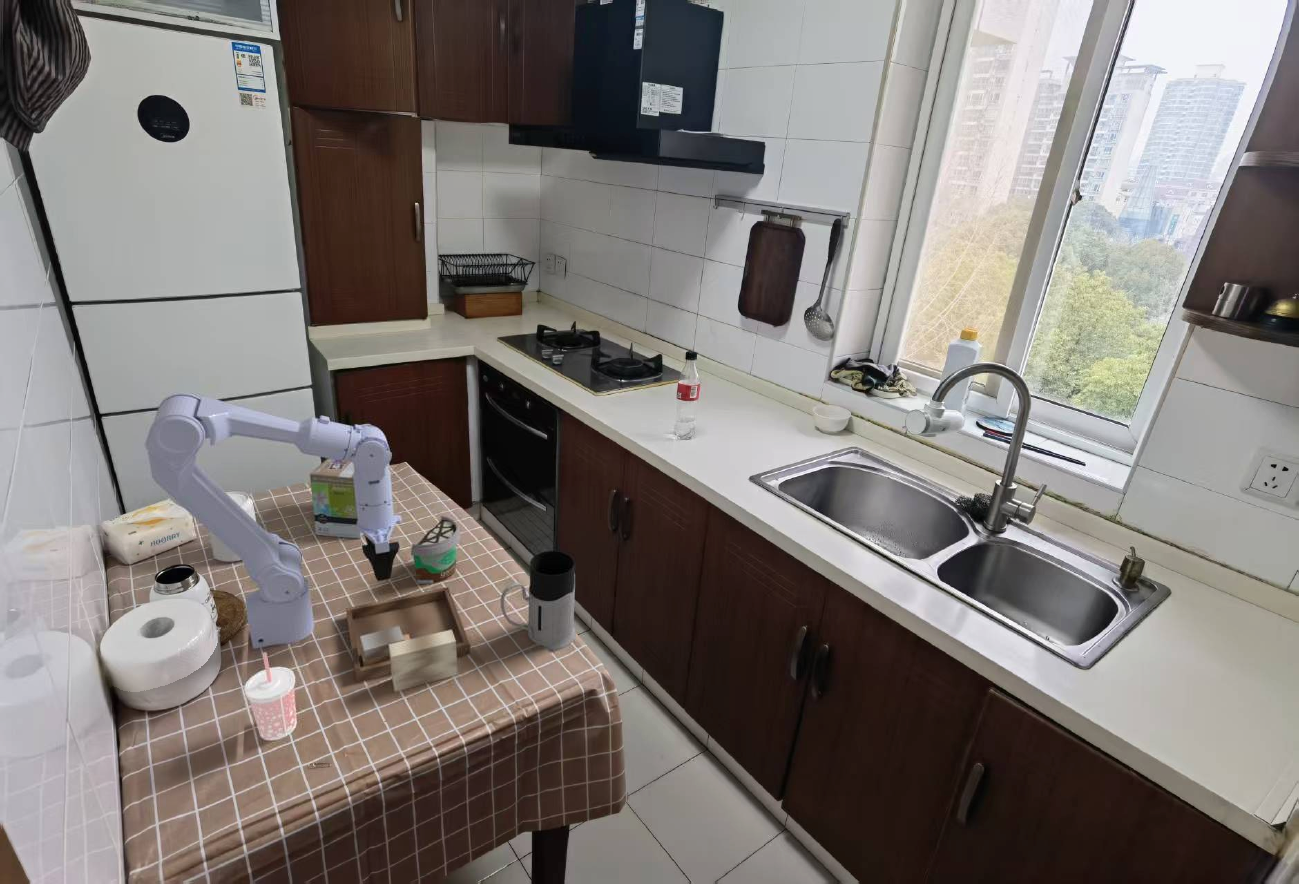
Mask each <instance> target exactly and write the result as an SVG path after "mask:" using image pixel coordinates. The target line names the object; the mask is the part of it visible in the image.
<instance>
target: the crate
mask: <svg viewBox="0 0 1299 884" xmlns="http://www.w3.org/2000/svg"><path fill="white" fill-rule="evenodd" d="M345 612H346V613H345V614H346V619H347V625H348V632H349V633H348V634H349V639H350V647H351V653H352V660H353V667H354V668H353V669H354V675H355V680H356V681H355V682H356V684H358V683H361V682H365V681H369V680H373V679H377V678H381V677H385V676H389V675H392V674H391V663H390V661H386V662H382V663H378V664H374V665H370V666H365V667H363V661H362V655H361V647H360V645H361V639H360V636H363V635H367V634H371V633H374V632H378V631H382V630H386V629H389V628H393V627H397V626H399V627H400V630H401V632H402V635H406V634H409V637H410V639H414V638H418V637H422V636H427V635H431V634H435V633H439V632H444V631H448V630H452V631H453V634H454V637H455V640H456V653H457V658H461V657H463V656H468V655H470V654H471V644H470V641H469V639H468V635H467V633H466V630H465V628H464V626H463V623H462V620H461V617H460V615H459V612H458V610H457V607H456V604H455V602H454V599H453V596H452V593H451V591H450V588H449V587H448V586H447V587H442V588H438V589H433V590H428V591H423V592H422V591H421V592H418V593H413V594H409V595H408V594H407V595H403V596H399V597H394V598H388V599H385V600H380V601H379V600H378V601H374V602H369V603H365V604H359V605H354V606H351V607H345Z"/></svg>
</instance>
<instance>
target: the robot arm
mask: <svg viewBox="0 0 1299 884" xmlns="http://www.w3.org/2000/svg"><path fill="white" fill-rule="evenodd" d="M233 436H234V437H235V436H239V437H244V438H245V437H246V438H251V439H259V440H265V441H272V442H279V443H286V444H293V445H295V446H296V447H297V449H299V451H300V452H301V454H304V455H309V456H314V457H321V458H325V459H327V458H329V459H334V460H340V461H345V462H352V463H353V465H354V473H353V480H354V490H355V499H356V509H357V518H358V520H357V528H358V530H359V531H360V532H361V533H363V537H364V539H365V541H366V544H364V545H363V544H362V545H361V549H362V553H363V555H364V556H365V558H366V559H367V560H368V561H369V563H370V564H371V567H372V570H373V574H374V576H375V579H376V580H377V582H382V581H386V580H390V579H391V576H392V573H393V572H392V571H393V566H394V565H393V564H394V562H395V558H396V556H397V554H398V553H399V551H400V543H399V541H394V542H389V540H390V538H391V536H392V533H393V531H394V529H395V526H396V525H400V524H402V522H403V519H402V518H403V517H402V515H400V514H395V513H394V512H395V511H394V501H393V487H392V485H393V484H392V477H391V474H392V473H391V470H390V462H391V460H392V455H393V453H392V452H391V450H390V446H389V444H388V441H387V437H386V435H385V434H384V432H383V431H382V430H381V429H380V428H379V427H377V426H375V425H372V424H370V423H365V424H354V426H353V425H348V424H343V423H339V422H336V421H331V420H330V417H329V416H325V415H320V416H319V418H316V417H309V418H306V419H304V420H302V421H295V420H292V419H288V418H284V417H280V416H276V415H272V414H269V413H264V412H261V411H257V410H253V409H250V408H246V407H242V406H240V405H239V406H238V405H235V404H230V403H228V402H224V401H222V400H219V399H216V398H215V397H214V398H213V397H210V396H201V398H200V397H199V396H197V395H194V394H192V393H187V392H180V393H178V392H177V393H173V394H171V395H169V396H167V397H165V398H164V399H162V401H161V402H160V404H159V405H158V408H157V411H156V415H155V417H154V420H153V422H152V423H151V425H150V428H149V430H148V433H147V436H146V440H145V443H144V446H145V449H146V450H147V455H148V459H149V460H148V462H149V466H150V473H151V478H152V479H153V480H154V482H155V484H157V485H159V487H160V488H161V489H162V490H163V491H165V492H166V493H167V494H168V495H169V496H170V497H172V499H174V500H175V501H176V503H178V504H179V505H181V506H182V507H183V509H185V510H186V511H187V512H188V513H189V514H190V515H192V517H194V518H195V519H196V521H198V522H199V523H200V524H201V525H202V526H204V527H205V528H206V529H207V530H209V531H210V532H212V533H213V534H214V535H215V536H216V537H217V538H218V539H219V540H220V541H222V542H223V543H224V544H225V545H226V546H227V547H228V548H229V549H230V550H232V551H233V552H234V553H235V554H236V555H237V556H238V557H239V558H240V559H242V560H241V561H242V563H243V565H244V567H245V569H246V572H247V574H248V576H249V578H250V579H251V580H252V581H253V582H254V583H255V584H256V586H257V587H258V590H257V591H255V592H251V593H248V594H246V596H245V606H246V607H245V609H246V610H245V611H246V617H247V624H248V632H249V636H250V638H251V645H252V649H255V650H256V649H261V648H265V647H269V646H270V647H271V646H275V645H286V644H294V643H297V642H299V641H301V640H303V639H305V638H307V637H308V636H309V635H310V634H312V632H313V631H314V629H315V620H314V612H313V607H312V601H311V600H312V599H311V592H310V585H309V580H308V579H307V578H306V577H305V576H304V575H303V565H302V564H303V563H302V562H303V552H302V550H301V549H300V547H299V546H298V545H297V544H295V543H293V542H290V541H286V540H284V539H283V538H281V537H280V536H279V535H278V534H276V533H269V532H268V531H266V530H265V529H264V528H263V527H262V526H261V525H260V524H259V523H258V522H257V520H256V521H254V520H253V519H252V518H251V517H250V516H249V515H248V514H247V513H246V512H245V511H244V510H243V509H242V508H241V507H240V506H239V505H238V504H237V503H236V502H235V501H234V500H233V499H232V498H231V497H229V496H228V495H227V494H226V493H225V492H226V491H224V489H222V488H221V487H220V486H219V485H218V483H216V482H215V481H214V480H213V479H212V478H211V477H210V476H209V475H208V474H206V473H205V471H203V469H202V468H201V467H200V466H199V465H198V464H196V458H197V454H198V453H199V451H200V450H201V448H202V447H203V445H204V443H205V440H206V439H209V443H210V446H214V445H218V444H219V443H221V442H224V441H225V440H227V439H229V438H231V437H233ZM209 531H208V532H209Z"/></svg>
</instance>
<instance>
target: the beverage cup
mask: <svg viewBox="0 0 1299 884" xmlns="http://www.w3.org/2000/svg"><path fill="white" fill-rule="evenodd" d="M262 658H263V662H264V663H263V664H264V668H265V669H264V670H260V671H258V672H256V673H255V674H254V675H252V676H251V677H250V678H249V679H248V680H247V681H246V682H245V684H244V688H243V689H244V690H243V691H244V693H245V696H246V699H247V700H249V702H250V707H251V709H252V713H253V716H254V719H255V722H256V726H257V730H258V732H259V735H260V737H261V738H262V739H263V740H266V741H276V740H281V739H284V738H286V737H288V735H290V734H291V733H292V732H293V731H294V730H295V729H296V727H297V723H298V722H297V721H298V720H297V708H296V695H295V684H296V676H295V675H296V674H295V673H294V671H293V670H292V669H290V668H288V667H283V666H276V667H275V666H274V667H270V665H269V660H268V654H267V652H265V651H264V652H262Z"/></svg>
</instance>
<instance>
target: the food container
mask: <svg viewBox="0 0 1299 884" xmlns="http://www.w3.org/2000/svg"><path fill="white" fill-rule="evenodd" d="M460 540H461V531H460V529H459V526H458V525H457V523H456V522H455V521H454V520H453V519H452V518H450V517H448V516H445V515H444V516H443V515H440V521H438V523H437V524H436V525H435V526H433V528H431V529H430V530H428V532H427V533H426V534H425V535H424V536H423V537H422V539H421V540H420V541H419V542H418V543H417V544H415V543H411V548H410V550H411V551H410V552H411V553H410V555H411V556H413V562H414V569H415V575H416V583H417V584H421V585H426V584H427V585H428V584H429V585H430V584H437V583H441V582H443V581H446V580H448V579H450V578H451V577H452V576H453V575H454V574H455V573H456V569H457V566H456V565H457V551H458V550H457V549H458V543H459V542H460Z"/></svg>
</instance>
